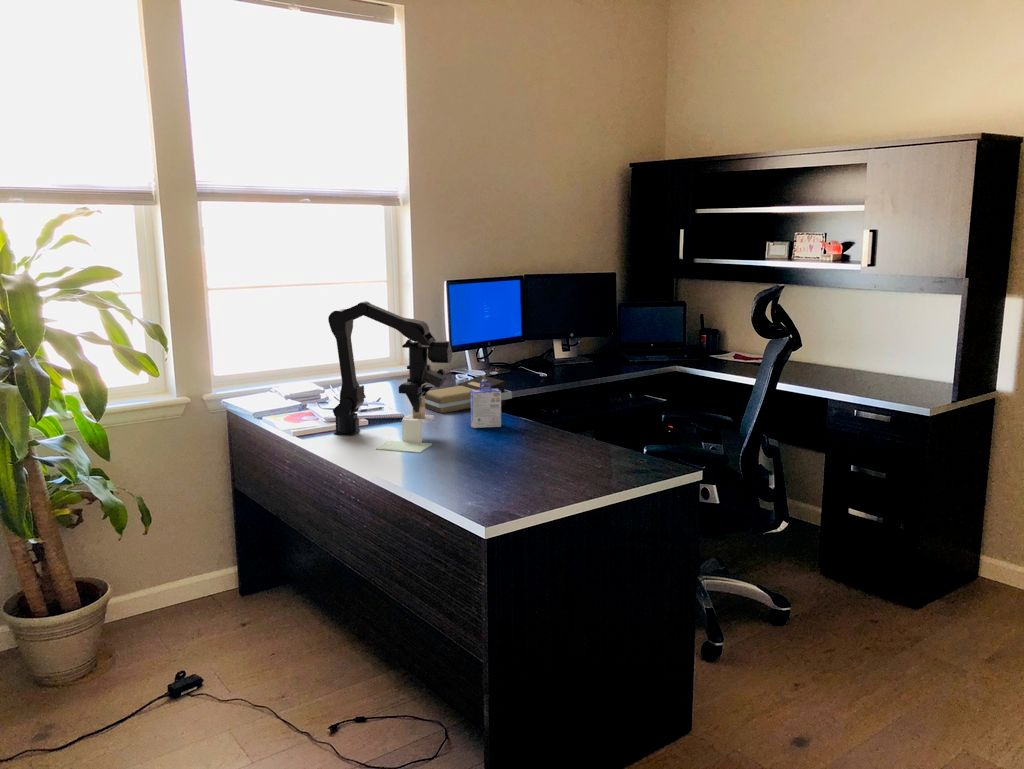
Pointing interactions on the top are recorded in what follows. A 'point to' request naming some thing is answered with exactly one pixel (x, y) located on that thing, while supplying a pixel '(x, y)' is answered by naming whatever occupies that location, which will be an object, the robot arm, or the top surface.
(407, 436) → the tile
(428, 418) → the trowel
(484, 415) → the ink cartridge box
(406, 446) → the mat
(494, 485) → the top surface
